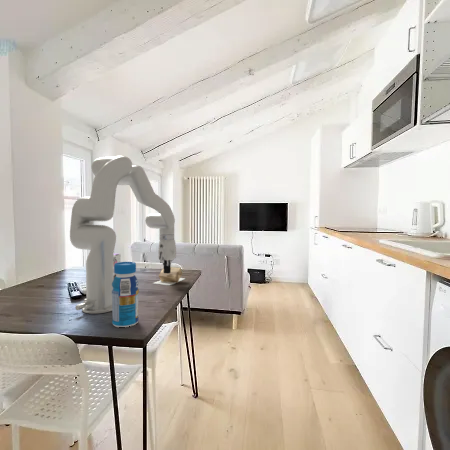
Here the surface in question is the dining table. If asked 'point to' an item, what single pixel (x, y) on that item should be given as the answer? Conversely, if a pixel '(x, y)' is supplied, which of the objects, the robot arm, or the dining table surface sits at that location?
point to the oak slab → (171, 275)
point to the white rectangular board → (167, 282)
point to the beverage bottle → (125, 295)
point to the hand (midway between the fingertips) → (167, 272)
